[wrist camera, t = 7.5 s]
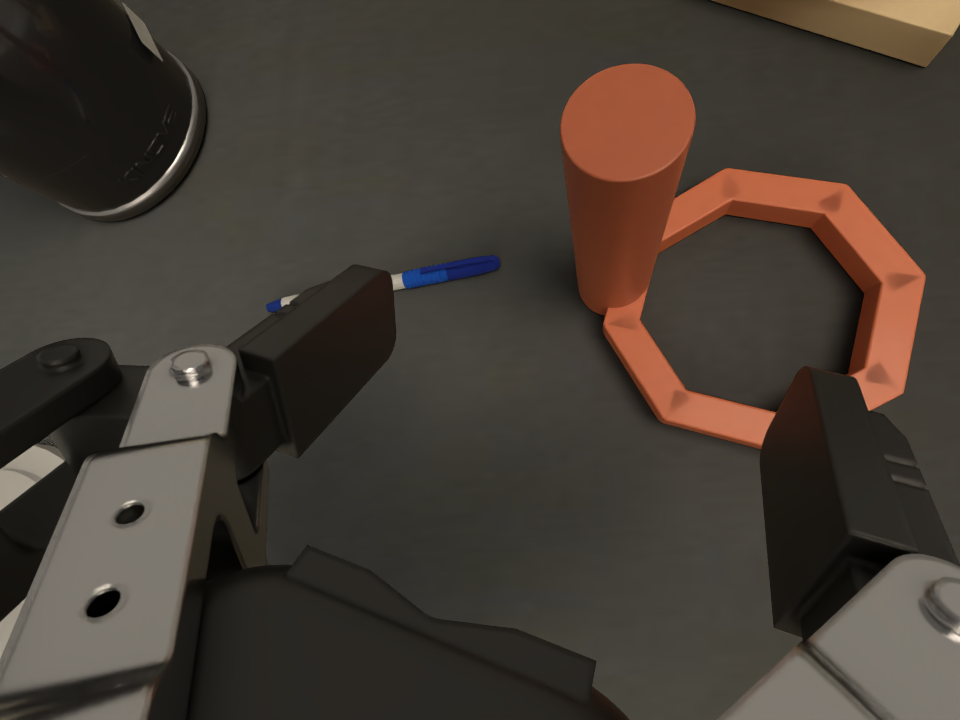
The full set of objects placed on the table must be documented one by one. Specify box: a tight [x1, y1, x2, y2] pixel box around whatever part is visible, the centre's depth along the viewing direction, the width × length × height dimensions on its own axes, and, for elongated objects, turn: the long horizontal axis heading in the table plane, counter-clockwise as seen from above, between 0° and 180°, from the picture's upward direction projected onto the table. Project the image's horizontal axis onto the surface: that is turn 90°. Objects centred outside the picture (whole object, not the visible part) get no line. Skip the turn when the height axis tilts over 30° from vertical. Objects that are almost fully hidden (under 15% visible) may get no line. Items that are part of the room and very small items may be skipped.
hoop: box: [560, 64, 926, 449], centre depth 14 cm, size 11×9×10 cm
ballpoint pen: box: [266, 255, 500, 312], centre depth 22 cm, size 10×1×1 cm, turn 98°
